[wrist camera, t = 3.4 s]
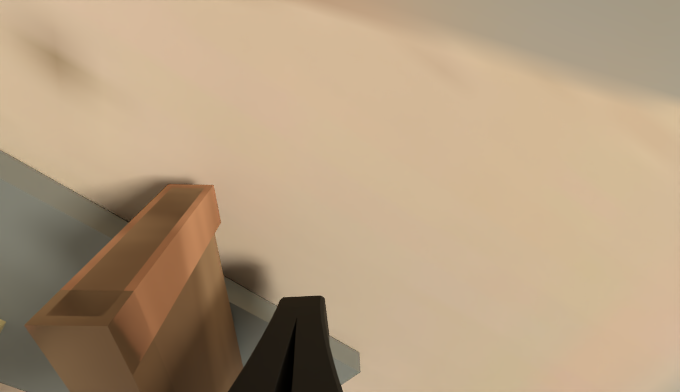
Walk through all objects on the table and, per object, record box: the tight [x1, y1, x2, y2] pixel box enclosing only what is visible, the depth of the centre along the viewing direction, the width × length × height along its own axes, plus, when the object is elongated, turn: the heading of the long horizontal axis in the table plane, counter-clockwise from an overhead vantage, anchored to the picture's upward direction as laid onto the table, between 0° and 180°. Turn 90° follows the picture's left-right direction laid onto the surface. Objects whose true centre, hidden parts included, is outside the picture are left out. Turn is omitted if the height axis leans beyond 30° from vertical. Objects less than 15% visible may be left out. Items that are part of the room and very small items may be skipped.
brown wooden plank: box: [24, 184, 243, 392], centre depth 11 cm, size 1×12×5 cm, turn 179°
